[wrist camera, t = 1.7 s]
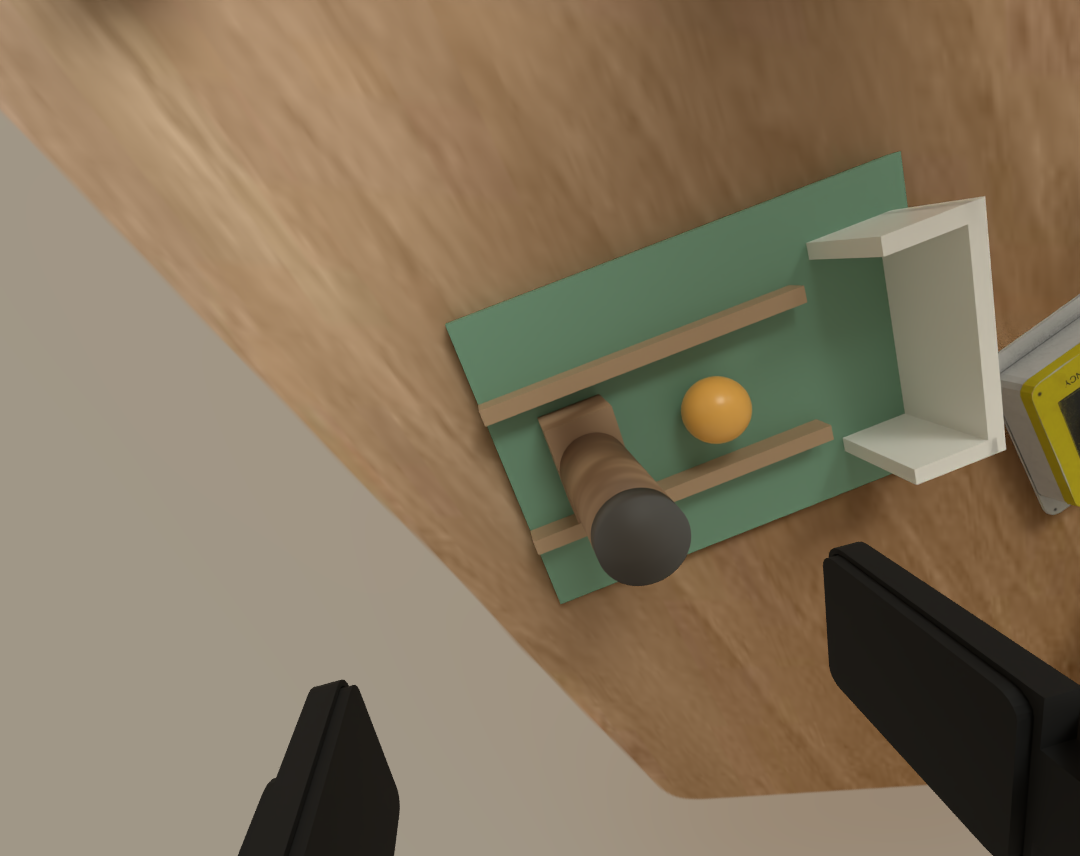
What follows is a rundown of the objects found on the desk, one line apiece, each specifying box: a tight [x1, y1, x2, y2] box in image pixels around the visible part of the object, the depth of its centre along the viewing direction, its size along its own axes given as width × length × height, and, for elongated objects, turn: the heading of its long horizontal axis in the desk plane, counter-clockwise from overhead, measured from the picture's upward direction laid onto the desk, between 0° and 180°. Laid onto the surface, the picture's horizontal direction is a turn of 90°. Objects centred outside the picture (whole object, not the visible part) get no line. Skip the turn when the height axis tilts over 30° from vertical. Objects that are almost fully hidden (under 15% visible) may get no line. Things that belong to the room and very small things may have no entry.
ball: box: [681, 376, 752, 444], centre depth 32 cm, size 4×4×4 cm
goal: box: [806, 196, 1006, 485], centre depth 31 cm, size 6×14×6 cm, turn 20°
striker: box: [538, 394, 691, 586], centre depth 27 cm, size 4×6×12 cm, turn 20°
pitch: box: [445, 151, 908, 604], centre depth 33 cm, size 28×20×2 cm
